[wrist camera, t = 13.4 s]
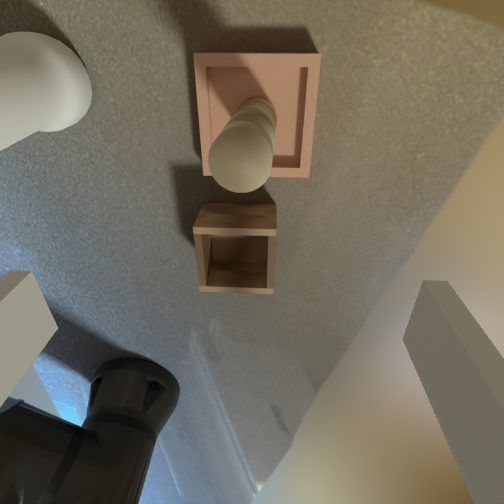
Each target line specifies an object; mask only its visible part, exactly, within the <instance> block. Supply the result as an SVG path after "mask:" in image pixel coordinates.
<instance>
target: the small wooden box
mask: <svg viewBox="0 0 504 504" xmlns="http://www.w3.org/2000/svg"><path fill="white" fill-rule="evenodd" d="M276 230H277V229H276V204H245V203H204V202H203V204H202V207H201V209H200V211H199V214H198V216H197V218H196V221H195V223H194V226H193V233H194V242H195V251H196V260H197V269H198V278H199V287H200V291H202V292H229V293H256V294H273V292H274V271H275V251H276Z"/></svg>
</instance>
